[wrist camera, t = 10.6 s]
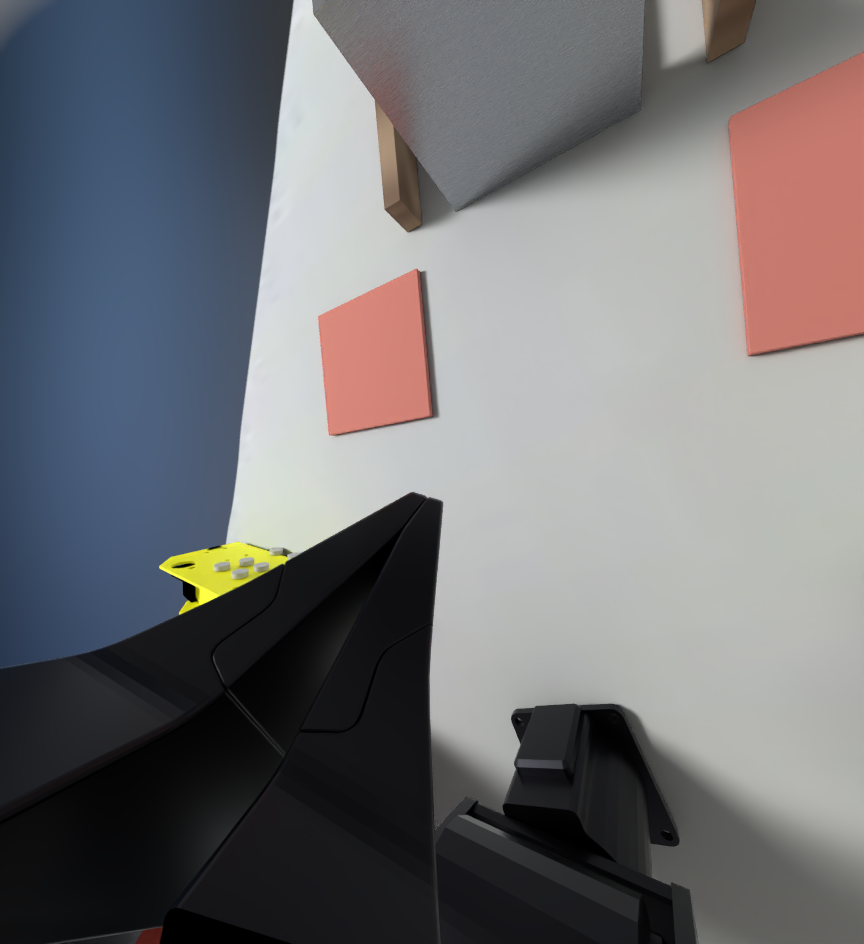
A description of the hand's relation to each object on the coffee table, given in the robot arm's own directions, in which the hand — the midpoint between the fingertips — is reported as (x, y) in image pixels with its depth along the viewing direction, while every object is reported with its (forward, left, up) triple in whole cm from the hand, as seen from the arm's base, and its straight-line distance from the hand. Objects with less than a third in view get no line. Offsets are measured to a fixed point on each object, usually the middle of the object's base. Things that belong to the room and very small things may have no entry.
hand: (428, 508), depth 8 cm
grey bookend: (+22, -9, -12) cm, 26 cm away
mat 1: (+13, +8, -12) cm, 20 cm away
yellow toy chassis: (+1, +26, -13) cm, 29 cm away
